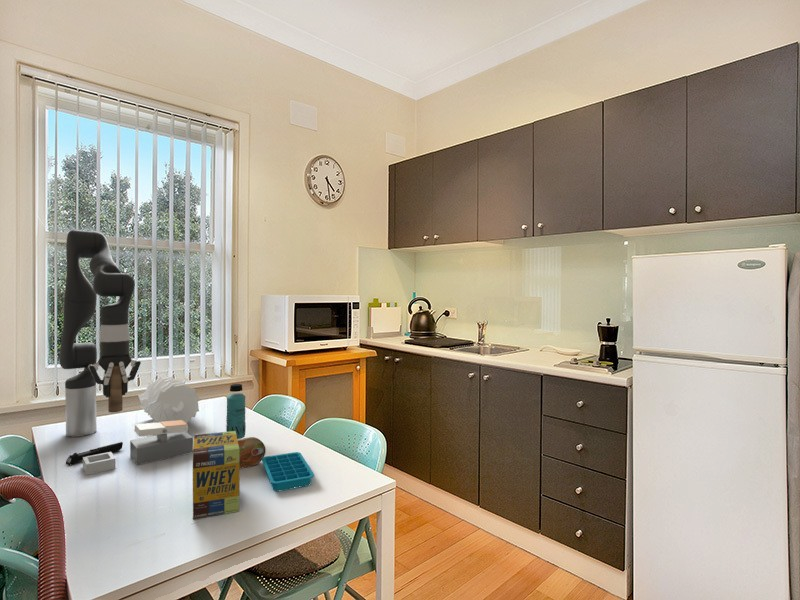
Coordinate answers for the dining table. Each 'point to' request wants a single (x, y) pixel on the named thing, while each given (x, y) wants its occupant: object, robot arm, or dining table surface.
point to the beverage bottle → (236, 411)
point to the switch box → (160, 447)
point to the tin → (250, 451)
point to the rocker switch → (161, 428)
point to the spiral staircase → (169, 400)
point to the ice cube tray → (287, 471)
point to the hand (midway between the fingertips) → (115, 395)
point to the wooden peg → (115, 390)
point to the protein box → (215, 474)
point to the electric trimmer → (93, 453)
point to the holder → (98, 463)
